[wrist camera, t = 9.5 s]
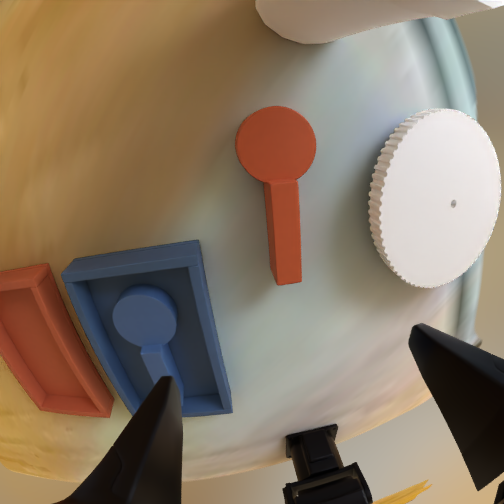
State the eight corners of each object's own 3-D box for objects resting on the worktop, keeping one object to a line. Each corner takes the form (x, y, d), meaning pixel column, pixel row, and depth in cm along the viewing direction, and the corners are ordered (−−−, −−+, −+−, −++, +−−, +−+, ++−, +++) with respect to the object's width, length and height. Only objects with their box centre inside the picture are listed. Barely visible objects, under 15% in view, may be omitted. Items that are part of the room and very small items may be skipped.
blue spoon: (200, 384, 23) (201, 404, 21) (151, 387, 23) (148, 407, 21) (169, 279, 19) (165, 298, 17) (109, 287, 19) (99, 305, 17)
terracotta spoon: (313, 262, 21) (324, 278, 18) (248, 272, 20) (253, 289, 18) (305, 106, 16) (318, 103, 14) (231, 111, 16) (233, 108, 14)
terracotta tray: (114, 399, 24) (110, 418, 22) (47, 394, 23) (40, 410, 21) (48, 262, 18) (33, 278, 16) (-20, 275, 17) (-34, 288, 15)
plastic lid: (452, 83, 16) (473, 82, 14) (492, 217, 21) (509, 225, 19) (326, 166, 18) (342, 171, 16) (397, 303, 23) (411, 318, 21)
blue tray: (230, 392, 25) (233, 413, 23) (137, 399, 24) (133, 418, 22) (198, 239, 19) (197, 254, 16) (74, 258, 18) (60, 274, 16)
